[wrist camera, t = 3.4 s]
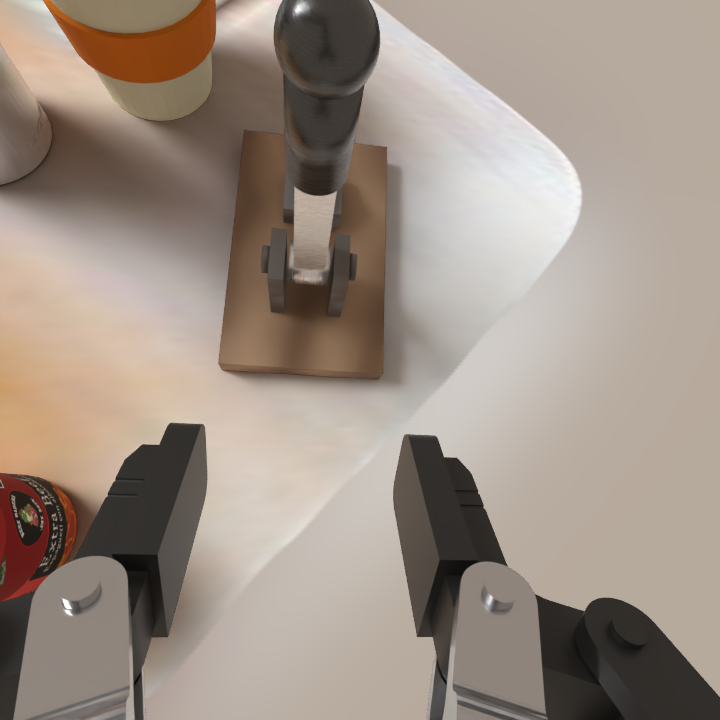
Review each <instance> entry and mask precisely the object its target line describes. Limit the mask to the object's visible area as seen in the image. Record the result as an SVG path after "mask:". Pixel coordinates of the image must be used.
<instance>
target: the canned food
mask: <svg viewBox="0 0 720 720" xmlns="http://www.w3.org/2000/svg"><path fill="white" fill-rule="evenodd" d="M76 534H77V516H76V513H75V510H74V507H73V505H72V503H71V501H70V500H69V498H68V497H67V496H66V495H65V494H64V493H63V492H62V490H61V489H60V488H58V487H57V486H55V485H54V484H52V483H51V482H49V481H47V480H44V479H42V478H39V477H34V476H29V475H18V474H6V473H0V602H1V601H5V600H9V599H13V598H16V597H18V596H21V595H23V594H26V593H28V592H31V591H33V590H34V589H36V588H38V587H39V586H40V584H41V583H42V582H43V581H44V580H45V579H46V578H47V577H48V576H49V575H50V574H51V573H52V572H54V571H55V570H56V569H58V568H59V567H61V566H62V565H63V564H64V563H65V561H66V559H67V558H68V556H69V554H70V553H71V551H72V548H73V546H74V543H75V540H76Z"/></svg>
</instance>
